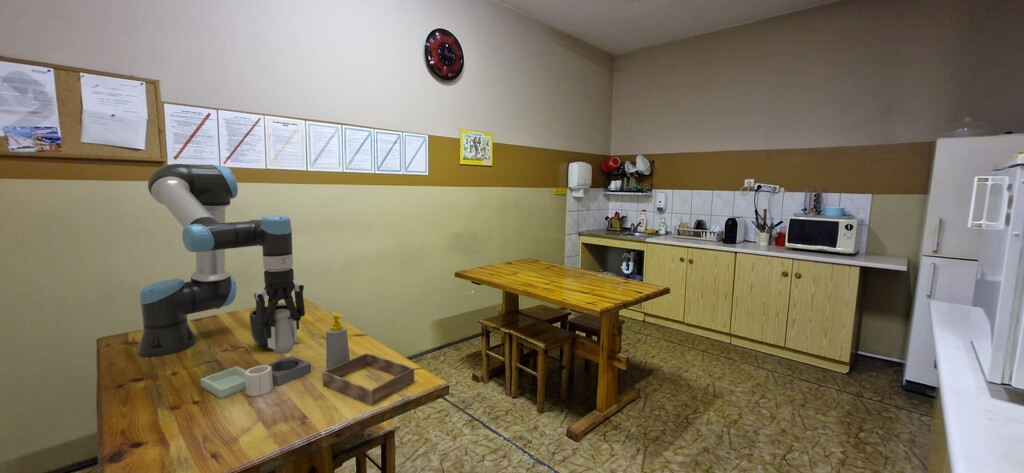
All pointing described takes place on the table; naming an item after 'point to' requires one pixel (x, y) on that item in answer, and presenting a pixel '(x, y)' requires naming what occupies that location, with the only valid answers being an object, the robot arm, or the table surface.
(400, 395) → the table surface
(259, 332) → the planter
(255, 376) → the octagonal gray cup
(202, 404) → the table surface
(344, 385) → the book tray
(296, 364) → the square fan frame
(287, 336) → the salt shaker
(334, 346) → the soap bottle
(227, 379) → the mint green tray
